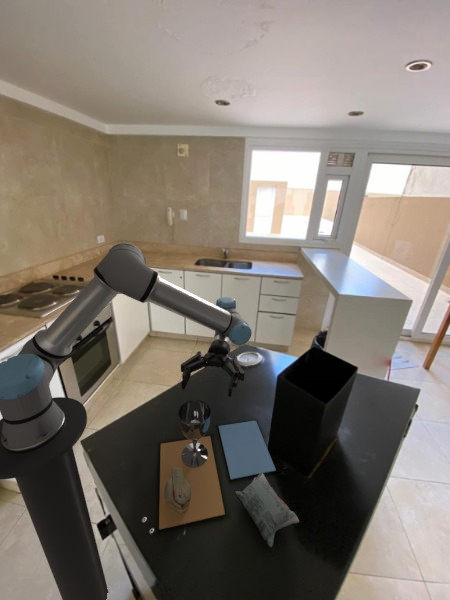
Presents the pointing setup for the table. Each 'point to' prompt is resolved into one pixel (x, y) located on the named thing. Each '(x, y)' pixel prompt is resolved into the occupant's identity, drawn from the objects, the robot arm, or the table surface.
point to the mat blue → (245, 450)
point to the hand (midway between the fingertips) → (206, 389)
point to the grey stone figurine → (178, 491)
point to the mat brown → (200, 479)
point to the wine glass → (194, 431)
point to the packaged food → (266, 508)
